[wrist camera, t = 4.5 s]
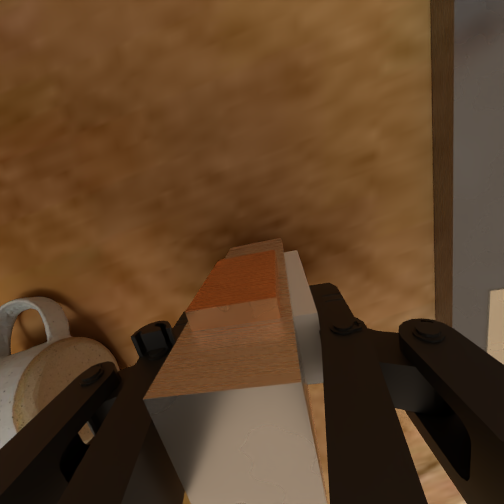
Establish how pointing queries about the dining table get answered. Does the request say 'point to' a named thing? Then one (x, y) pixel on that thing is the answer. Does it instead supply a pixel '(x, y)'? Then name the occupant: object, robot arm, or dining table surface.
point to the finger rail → (469, 168)
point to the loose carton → (240, 389)
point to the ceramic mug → (41, 365)
